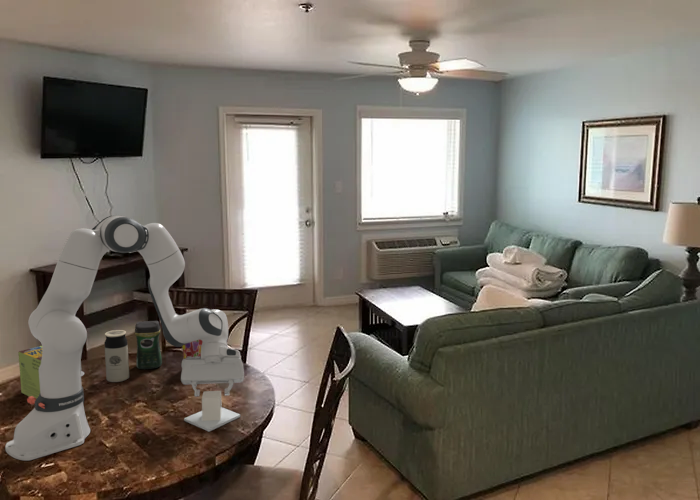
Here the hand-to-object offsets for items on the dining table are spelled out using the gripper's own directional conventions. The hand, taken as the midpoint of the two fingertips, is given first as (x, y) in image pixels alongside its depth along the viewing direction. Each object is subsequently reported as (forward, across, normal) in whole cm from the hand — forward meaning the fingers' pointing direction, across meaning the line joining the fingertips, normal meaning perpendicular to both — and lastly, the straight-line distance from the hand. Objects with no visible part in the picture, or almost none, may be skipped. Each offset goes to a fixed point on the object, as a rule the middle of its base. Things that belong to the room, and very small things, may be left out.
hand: (212, 395), depth 187 cm
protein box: (-13, -59, +24) cm, 65 cm away
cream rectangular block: (+5, 0, +4) cm, 7 cm away
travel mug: (-21, -38, +32) cm, 54 cm away
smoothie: (-26, -11, +37) cm, 47 cm away
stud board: (+6, 0, +5) cm, 8 cm away
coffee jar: (-29, -29, +41) cm, 58 cm away
